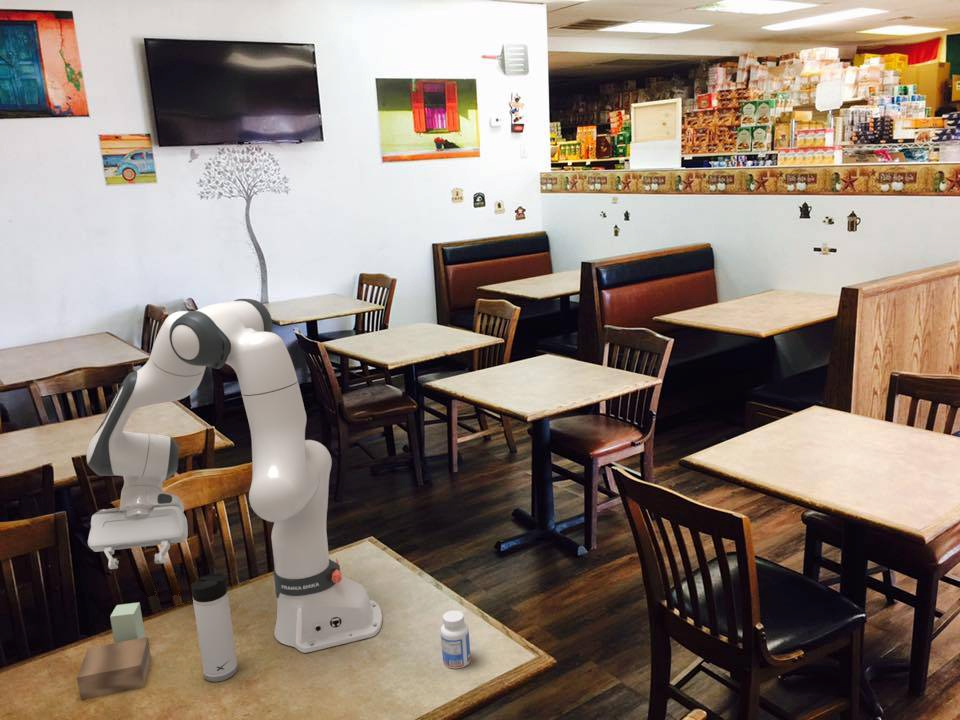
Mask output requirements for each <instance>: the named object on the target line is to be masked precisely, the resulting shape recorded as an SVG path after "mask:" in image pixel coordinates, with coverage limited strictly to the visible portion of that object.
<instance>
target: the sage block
mask: <svg viewBox="0 0 960 720" xmlns="http://www.w3.org/2000/svg"><path fill="white" fill-rule="evenodd" d="M140 603H141V602H131V603H124V604H123V603H122V604H117V605H116V606H115V607H114V609H113V611H112V612H111V614H110V616H109V617H110V625H111V631H112V635H113V641H114V642H113V643H118V642H123V641H129V640H134V639H139V638H145V637H146V634H145V626H144V621H143V615H142V610H141V604H140Z"/></svg>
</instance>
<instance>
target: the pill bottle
mask: <svg viewBox="0 0 960 720" xmlns="http://www.w3.org/2000/svg"><path fill="white" fill-rule="evenodd" d="M440 639H441V640H440V641H441V652H442V654H441V655H442V662H443V664H444V666H446V667H447V668H449V669H454V670H455V669H461V668H465V667H467V666H468V665H469V663H470V662H471V645H470V644H471V643H470V631H469V625H468V624H467V622H465V615H464V613H463V612H462V611H460V610H457V609H456V610H449V611H446V612H445V613H444V614H443V615H442V625H441V627H440Z"/></svg>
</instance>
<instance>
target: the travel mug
mask: <svg viewBox="0 0 960 720" xmlns="http://www.w3.org/2000/svg"><path fill="white" fill-rule="evenodd" d="M227 581H228V578H227V576H226V575H225V574H224V573H221V572H215V573H209V574H206V575H204V576H201V577H199V578H198V579H197V580H195V581H194V582H193V584H192V585H191V586H190V587H191V593H192V600H193V601H192V602H193V609H194V617H195V624H196V630H197V637H198V644H199V645H198V646H199V652H200V658H201V665H202V672H203V677H204V679H205V680H206V681H208V682H212V683H213V682H222V681H226V680H228V679H230V678H232V677H233V676H234V675H235V674H236V673H237V671H238V661H237V654H236V653H237V652H236V645H235V637H234V636H235V635H234V630H233V624H232V623H233V621H232V614H231V608H230V600H229V598H230V597H229V594H228V593H229V592H228V587H227Z"/></svg>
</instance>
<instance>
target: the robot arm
mask: <svg viewBox="0 0 960 720" xmlns="http://www.w3.org/2000/svg"><path fill="white" fill-rule="evenodd" d="M225 364H226V365H228V366H230V367H231V368H232V369H233V371H234V372H235V374H236V377H237V380H238V385H239V388H240V393H241V397H242V401H243V405H244V409H245V412H246V417H247V420H248V426H249V431H250V438H251V459H252V462H251V463H252V476H251V477H252V478H251V484H250V488H249V492H248V501H249V504H250V507H251V509H252V510H253V512H254V513H255V514H256V515H257V516H258V517H259V518H260V519H263V520H265V521H267V522H270V523H273V525H272V530H271V547H272V556H273V564H274V569H273V573H272V575H273V576H272V580H273V587H274V588H273V590H274V593H275V597H276V599H277V602H276V603H277V605H276V606H277V607H276V621H275V627H274V632H273V633H274V637H275V639H276V640H277V641H278V642H279V643H281V644H283V645H286V646H288V647H293V648H295V649H297V650H298V651H299V652H301V653H303V654H304V653H305V654H306V653H312V652H315V651H320V650H323V649H328V648H332V647H336V646H340V645H344V644H348V643H353V642H357V641H361V640H364V639H369V638H373V637H375V636H376V635H377V634H378V633H379V632H380V630H381V628H382V626H383V625H382V624H383V613H382V610H381V606H380V605H379V603H378V602H376V601H375V600H373V599H370V598H369V594H368V592H367V590H366V588H365V587H364V586H363V585H362V584H361V583H359V582H357V581H355V580H352V579H350V578H348V577H346V576H345V575H343V573H342V572H341V567H340V564H339V560H338V558H336V559H335V561H334V560H332V559H330V554H329V545H328V535H327V516H328V514H327V513H328V505H329V504H328V503H329V486H330V473H331V469H332V463H333V462H332V461H333V460H332V457H331V454H330V452H329V450H328V448H327V447H326V446H325V445H324V444H322V443H321V442H319V441H316V440H313V439H306V427H307V413H306V410H305V406H304V405H305V404H304V401H303V396H302V392H301V389H300V383H299V381H298V375H297V373H296V369H295V367H294V363H293V360H292V358H291V355H290V353H289V351H288V347H287V346H286V344H285V342H284V340H283V338H282V337H281V336H279V335H278V334H276V333H275V332H273V319H272V315H271V314H270V312H269V310H268V309H267V307H266V306H265V305H264V304H263V303H262V302H260V301H258V300H256V299H252V298H238V299H235V300H233V301H232V300H231V301H225V302H220V303H218V302H216V303H212V304H209V305H208V304H207V305H206V306H203V307H201V308H199V309H196V310H190V311H188V310H180V311H175V312H172V313H170V314H169V315H168V316H167V317H166V318H165V320H164V322H163V323H162V325H161V327H160V329H159V330H158V333H157V336H156V338H155V340H154V343H153V345H152V349H151V352H150V356H149V358H148V360H147V362H146V363H145V364H144V365H143V366H141V368H139V369H137V370H135V371H133V372H130V373H129V374H128V375H126V376H125V378H124V380H123V381H122V383H121V384H120V387H119V388H118V391H117V392H116V393H115V396H114V398H113V400H112V402H111V403H110V405H109V407H108V409H107V412H106V413H105V415H104V418H103V420H102V422H101V424H100V425H99V427H98V429H97V430H96V431H95V433H94V435H93V437H92V438H91V440H90V442H89V444H88V447H87V449H86V465H87V467H89V468H90V469H91V470H92V472H94V473H95V474H96V475H97V476H99V477H100V476H101V477H104V476H105V477H106V476H109V477H111V476H113V477H115V476H120V477H122V478H123V481H124V482H123V486H122V489H121V491H120V492H121V493H120V501H119V502H120V503H119V507H114V508H113V507H112V508H107V509H106V508H103V509H99V510H98V511H97V512H95V513H93V514H92V515H91V519H90V530H89V533H88V539H87V546H88V547H89V548H90V549H91V550H92V551H93V552H96V553H97V552H104V554H105V556H106V558H107V560H108V563H107V564H108V565H107V567H108V569H109V570H117V569H118V568H119V566H118V565H119V560H118V558H114V557H113V555H114V554H115V550H117V551H118V550H124V549H133V548H141V547H143V548H144V547H153V546H161V549H160V550H159V552H158V553H155V554H154V558H153V559H154V564H157V565H159V564H164V561H165V556H166V554H167V553H168V551H169V550H170V548H171V544H177V543H184V542H185V541H186V540H187V539H188V535H189V533H188V531H189V530H188V529H189V528H188V527H189V526H188V520H187V519H188V518H187V517H186V515H185V513H184V511H185V506H184V503H183V501H182V500H181V499H180V497H179V496H178V495H177V494H172V493H166V492H164V487H163V483H164V481H167V480H169V479H170V478H171V477H172V476H174V475H175V474H176V473H177V471H178V468H179V455H180V454H179V452H180V446H179V445H178V443H177V441H176V440H175V439H174V438H173V437H171V436H168V435H164V434H163V435H162V434H157V433H156V434H154V433H144V432H143V433H141V432H134V431H125V430H124V428H126V426H127V423H128V422H129V419H130V418H131V416H132V413H134V412H135V411H136V410H138V409H140V408H144V407H146V406H150V405H156V404H162V403H172V402H176V401H180V400H182V399H185V398H187V397H188V396H190V395H191V394H193V393H194V392H195V391H197V389H198V387H199V386H200V384H201V382H202V380H203V378H204V374H205V371H206V368H207V367H208V368H212V369H217V370H220V369H221V368H223V367H224V365H225Z"/></svg>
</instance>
